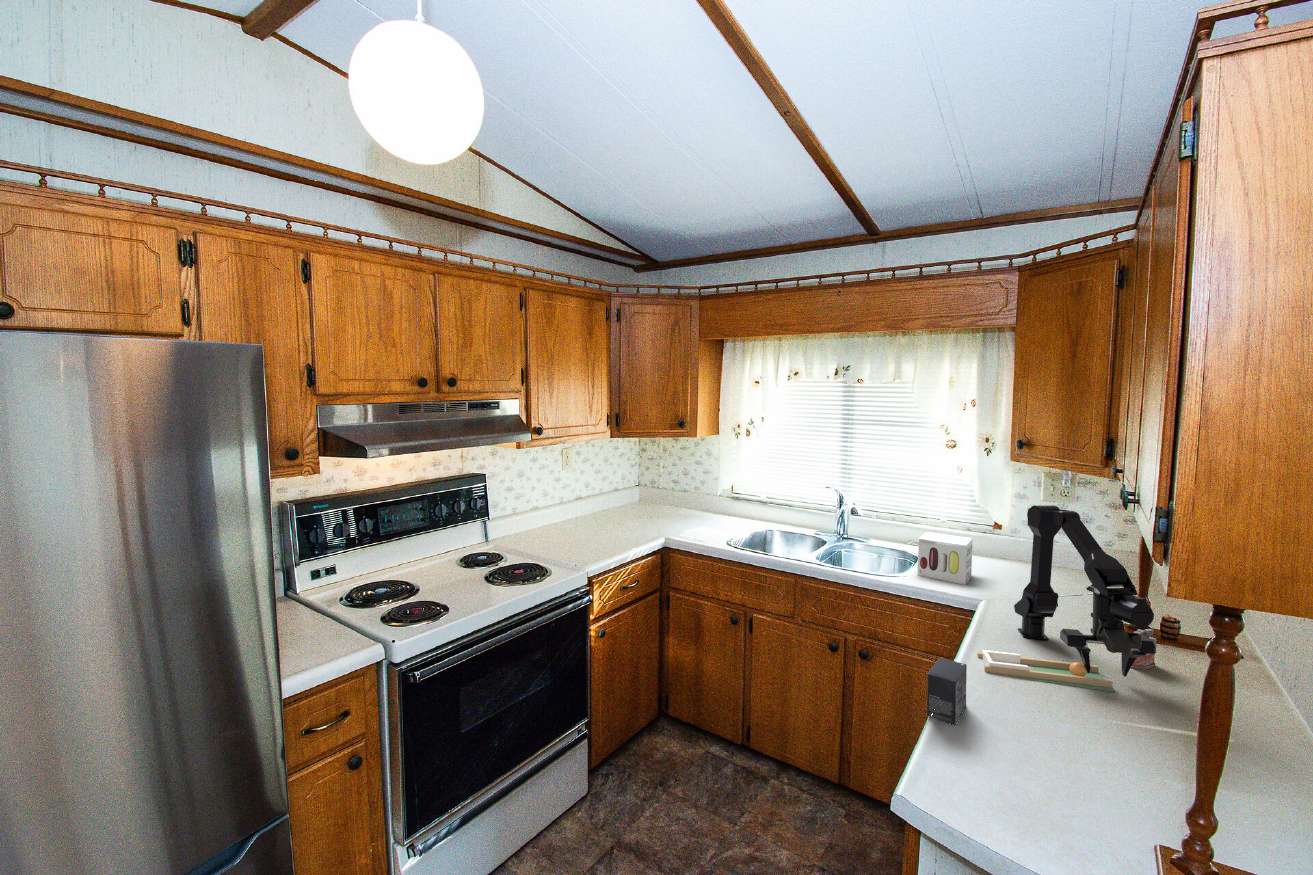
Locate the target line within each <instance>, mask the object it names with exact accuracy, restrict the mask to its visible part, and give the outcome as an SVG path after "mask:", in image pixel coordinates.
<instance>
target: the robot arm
mask: <svg viewBox="0 0 1313 875" xmlns="http://www.w3.org/2000/svg"><path fill="white" fill-rule="evenodd" d="M1026 515H1027V516H1026V517H1027V526H1028V527H1029V529H1030V531H1031V532H1032V535H1033V536H1032V538H1033V539H1032V548H1031V549H1032V550H1031V566H1030V580H1029V583H1028V584H1027V585H1026V586H1025V587H1024V589H1023V590H1022V597H1021V599H1020V600H1018V601H1017V602H1016V603H1015V604H1013V609H1014V613H1016V615H1019V616H1021V627H1020V628H1019V627H1018V628H1017V631H1018V632H1019V634H1020V635H1021V636H1022V637H1023V638H1024V639H1034V640H1043V641H1049V640H1050V639H1049V637H1048V636H1047V635H1046V634H1045V628H1046V618H1054V615H1055V612H1056V610H1057V608H1058V607H1059V604H1058V603H1059V602H1058V601H1059V593H1058V592H1056V591H1055V590H1054V589H1053V587H1052V585H1051V580H1052V568H1053V554H1054V542H1055V540H1054V539H1055V537H1056V535H1057V534H1058V532H1059V531H1060V530H1061V529H1062V531H1063V532H1064V533H1065V536H1066V537H1067V538H1068V539H1069V542H1071V544H1072V545H1073V546H1074V548H1075V550H1076V551H1077V552H1078V554H1079V555H1080V557H1081V558H1082V560H1083V562H1084V563H1083V564H1084V565H1083V570H1084V572H1085V574H1086V576H1087V579H1088V580H1089V582H1090V583H1091V585H1089V586H1087V587H1086V588H1085V589H1086V590H1087V591H1088V592H1091V593H1092V612H1090V617H1091V618H1092V627H1091V628H1090V633H1091V634H1083V633H1082V632H1081V631H1080V630H1079V629H1075V628H1074V629H1073V628H1062V629H1061V630H1060V632H1059V639H1060V640H1061V641H1062V642H1063V643H1064V644H1065V645H1066V646H1067V647H1072V648H1074V649H1075V650H1076V651H1077V652H1078V654H1079V657H1080V659H1081V661H1082V664H1084V666H1085V667H1086V670H1087V672H1088V673H1090V665H1091V661H1090V660H1091V658H1090V657H1091V656H1090V654H1091V651H1092V649H1091V648H1090V647H1088V644H1098V645H1104V646H1105V649H1106V650H1107V651H1108V652H1110V653H1113V654H1117V653H1119V654H1121V674H1122V676H1123V677H1127V676H1128V674H1129V672H1130V669H1132V668H1131V666H1132V664H1133V663H1134V661H1135V660H1136V659H1137V658H1138V657H1140V656H1145V655H1146V653H1150V654H1155V655H1156V654H1157V645H1156V643H1154V642H1153V641H1152V640H1150V639H1149V638H1147V637H1146V636H1145V635H1140V634H1139V633H1133V632H1130V631H1126V629H1125V623H1127V624H1129V625H1133V626H1134V627H1137V628H1139V629H1140V628H1143V629H1144V628H1146V627H1148V626H1150V625H1151V624H1152V623H1153V621H1154V618H1155V613H1154V611H1153V609H1152V607H1151V606H1150V605H1149V604H1147V603H1146V598H1144V597H1140V596H1138V595H1139V594H1138V591H1137V589H1136V588H1137V587H1136V586H1135V585H1134V583H1133V581H1132V579H1131V577H1130V575H1129V572H1128V570H1127V569H1126V568H1125V567H1124V565H1122V564H1121V563H1120V562H1119V560H1118V559H1117V558H1115V557H1114V556H1112V555H1110V554H1108V553H1106V552H1105V550H1103V548H1102V547H1101V545H1100V544H1099V543H1098V541H1097V540H1096V539H1095V538H1094V535H1092V534H1091V532H1090V531H1089V530H1088V528H1087V526H1086V525H1085V523H1083V521H1082V520H1081V515H1080V514H1079V513H1078V512H1077V511H1075V510H1069V509H1061V508H1059V506H1057V505H1054V504H1053V505H1049V504H1048V505H1045V504H1044V505H1032V506H1031V507H1030V508H1028V509H1027V514H1026ZM1124 622H1125V623H1124Z"/></svg>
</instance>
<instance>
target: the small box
mask: <svg viewBox="0 0 1313 875" xmlns="http://www.w3.org/2000/svg"><path fill="white" fill-rule="evenodd" d="M967 667H968V664H967V663H963V662H958V661H953V660H950V659H945V658H942V657H938V659H937V660H935V663H934V664H933V665H932V667H931V668H930V669H929V671H928V672H927V676H926V682H927V684H926V686H927V687H926V716H928V717H930V718H932V719H936V720H938V721H941V722H944V723H947V724H949V723H951V724H950V725H952V724H954V725H953V726H955V725H956V726H957V724H958V723H959V721H960V719H961V717H962V715H963V714H962V712H963V710H964V709H966V708H967V674H968V673H967V671H968V670H967ZM965 707H966V708H965ZM934 709H935V710H934ZM964 711H965V710H964ZM932 713H933V715H932V717H931V714H932ZM963 713H964V712H963ZM961 714H962V715H961ZM960 716H961V717H960ZM959 718H960V719H959ZM958 720H959V721H958ZM957 722H958V723H957ZM956 723H957V724H956Z"/></svg>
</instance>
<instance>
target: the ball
mask: <svg viewBox="0 0 1313 875" xmlns="http://www.w3.org/2000/svg"><path fill="white" fill-rule="evenodd" d="M1071 663H1072V664H1071V665H1070V667H1069V669H1070V672H1071V673H1072V674H1073V675H1075V676H1085V675H1086V673H1087V670H1086V667H1085V666H1084V665H1083V663H1080V661H1079V662H1078V661H1075V662H1071Z"/></svg>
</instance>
